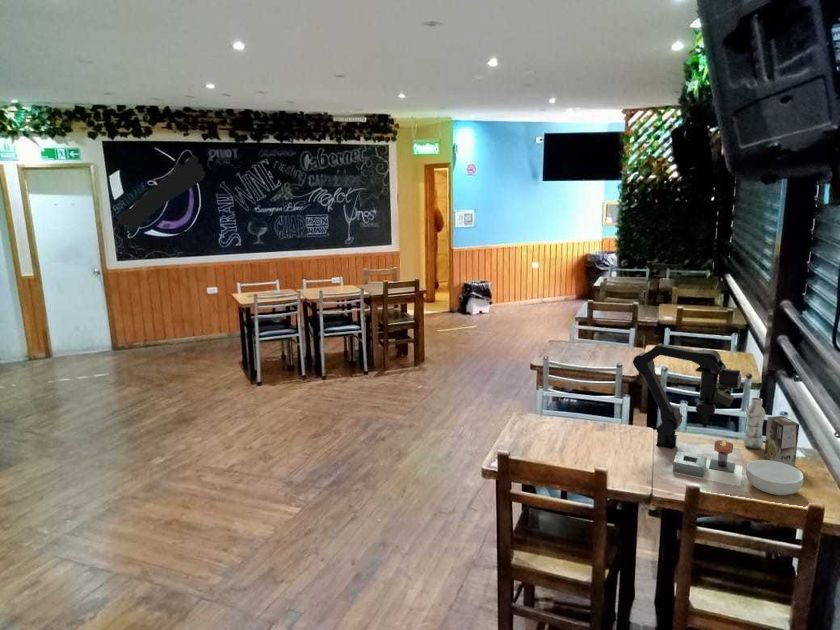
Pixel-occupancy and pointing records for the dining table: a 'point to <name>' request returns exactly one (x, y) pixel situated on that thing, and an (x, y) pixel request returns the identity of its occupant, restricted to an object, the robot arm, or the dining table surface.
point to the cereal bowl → (774, 477)
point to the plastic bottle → (754, 424)
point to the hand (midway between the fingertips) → (706, 422)
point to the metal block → (690, 464)
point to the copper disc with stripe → (723, 451)
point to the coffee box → (781, 440)
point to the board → (722, 475)
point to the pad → (729, 467)
